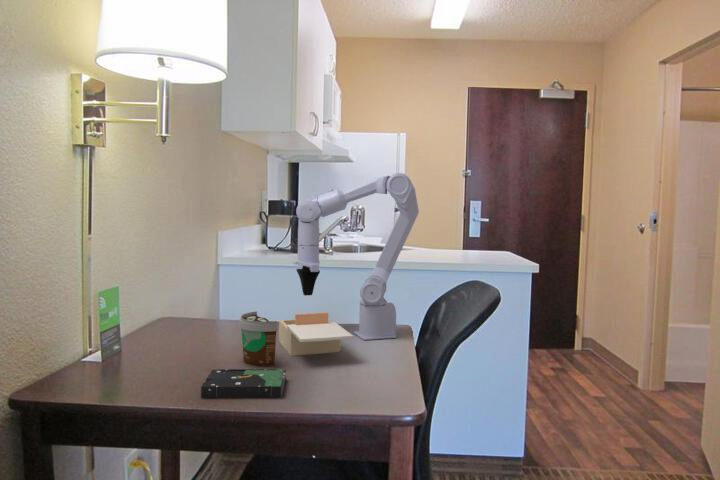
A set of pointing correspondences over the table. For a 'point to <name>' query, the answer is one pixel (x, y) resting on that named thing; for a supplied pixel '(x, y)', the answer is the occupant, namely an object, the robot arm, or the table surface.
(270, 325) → the food container
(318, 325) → the lid
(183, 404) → the table surface
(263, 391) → the disk drive
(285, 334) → the mailer box
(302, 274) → the robot arm
